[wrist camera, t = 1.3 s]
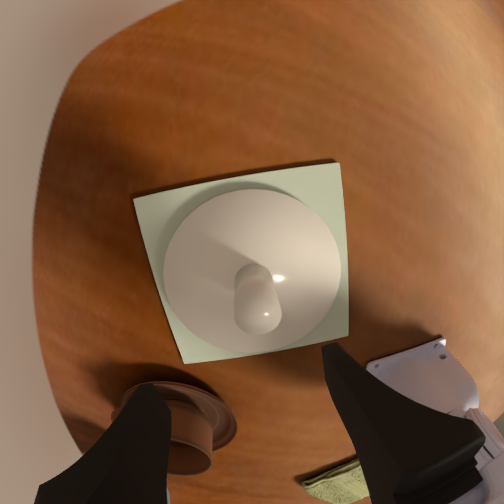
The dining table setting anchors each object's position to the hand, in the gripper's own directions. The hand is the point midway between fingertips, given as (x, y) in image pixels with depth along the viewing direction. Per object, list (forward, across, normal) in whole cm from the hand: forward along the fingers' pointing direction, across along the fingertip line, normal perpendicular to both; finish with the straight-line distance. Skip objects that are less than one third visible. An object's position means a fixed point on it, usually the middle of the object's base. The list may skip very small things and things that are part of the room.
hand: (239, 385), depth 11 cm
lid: (+10, -1, 0) cm, 10 cm away
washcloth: (+10, -8, +41) cm, 43 cm away
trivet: (+11, -1, 0) cm, 11 cm away
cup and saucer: (+11, +10, +14) cm, 20 cm away
